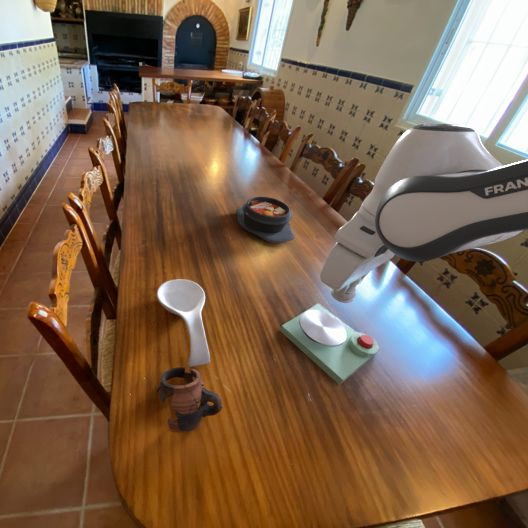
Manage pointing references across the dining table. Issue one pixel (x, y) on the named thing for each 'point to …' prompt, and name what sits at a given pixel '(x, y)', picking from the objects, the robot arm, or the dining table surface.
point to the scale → (331, 349)
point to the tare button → (365, 341)
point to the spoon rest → (187, 314)
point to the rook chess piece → (346, 293)
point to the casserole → (266, 219)
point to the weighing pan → (322, 328)
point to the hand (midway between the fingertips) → (347, 286)
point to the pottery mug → (188, 399)
